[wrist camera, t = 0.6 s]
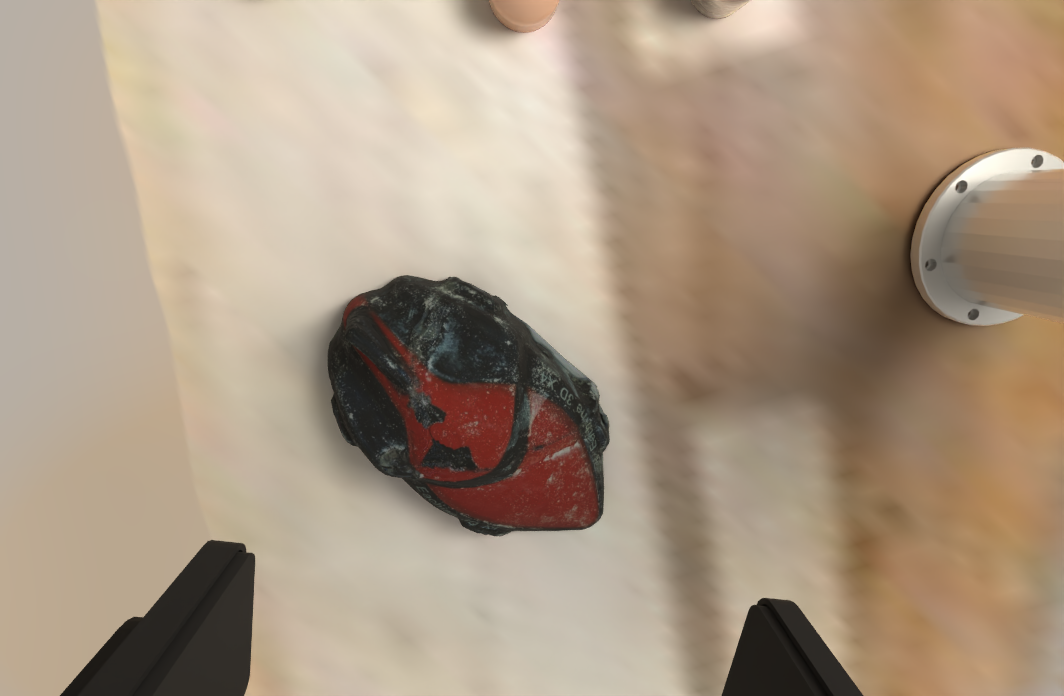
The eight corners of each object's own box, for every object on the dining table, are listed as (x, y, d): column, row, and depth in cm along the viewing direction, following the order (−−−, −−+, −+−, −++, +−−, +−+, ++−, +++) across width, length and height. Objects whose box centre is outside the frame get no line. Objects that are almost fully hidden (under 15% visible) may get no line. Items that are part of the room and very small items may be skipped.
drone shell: (312, 285, 38) (268, 308, 30) (592, 252, 39) (618, 265, 31) (370, 549, 44) (345, 624, 36) (613, 514, 45) (640, 580, 37)
